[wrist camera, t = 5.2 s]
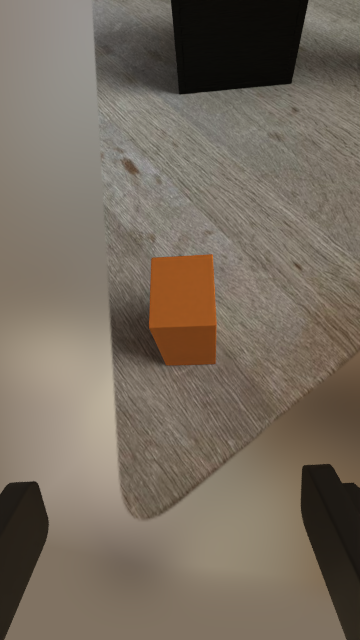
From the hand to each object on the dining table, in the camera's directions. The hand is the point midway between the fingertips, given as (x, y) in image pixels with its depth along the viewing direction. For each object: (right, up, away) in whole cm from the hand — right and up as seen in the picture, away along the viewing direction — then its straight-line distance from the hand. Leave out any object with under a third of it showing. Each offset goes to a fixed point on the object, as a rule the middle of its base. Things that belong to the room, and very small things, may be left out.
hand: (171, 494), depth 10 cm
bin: (+7, +40, +33) cm, 52 cm away
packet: (+1, +4, +18) cm, 18 cm away
